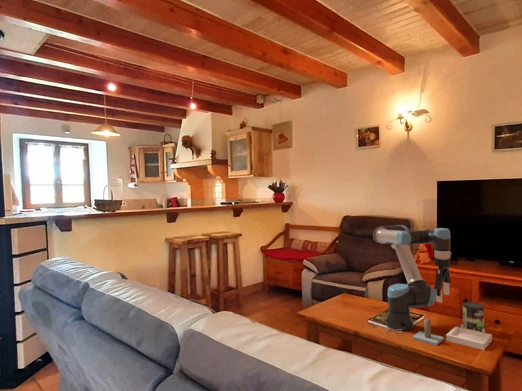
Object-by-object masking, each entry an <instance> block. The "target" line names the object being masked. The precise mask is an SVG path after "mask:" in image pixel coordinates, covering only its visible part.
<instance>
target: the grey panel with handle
mask: <svg viewBox="0 0 522 391" xmlns="http://www.w3.org/2000/svg"><path fill="white" fill-rule="evenodd" d="M423 325H424V331H421V330H419V331H418V332H417V333H415V334H414V335H412V340H413V341H417V342H421V343H425V344H428V345H433V346H435V347H438V345H439V344H440V343H441V342H443V341H444V336H441V335H439V334H438V335H437V334H433V333H432V322H431V319H430V318H424V323H423Z"/></svg>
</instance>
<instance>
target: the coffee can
mask: <svg viewBox="0 0 522 391" xmlns="http://www.w3.org/2000/svg"><path fill="white" fill-rule="evenodd" d="M462 321H463V323H462V324H463V325H464V328H466V329H470V330H474V331H479V332H482V329H485V327H486V326H485V306H484V304H482V303H479V302H474V301H473V302H472V301H465V302H462Z"/></svg>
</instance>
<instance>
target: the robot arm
mask: <svg viewBox="0 0 522 391" xmlns="http://www.w3.org/2000/svg"><path fill="white" fill-rule="evenodd" d="M372 238H373V240H374V241H375V242H376V243H379V244H386V245H389V244H390V246H391V248H392V249H393V250H395V252H396V256H397V258H398V261H399V263H400V266H401V269H402V271H403V274H404V276H405V279H406V282H407V283H406V284H405V283H395V284H392V285H390V286H388V288H387V306H388V307H387V309H388V310H387V316H386V318H385V325H386V324H387V325H388V326H389V327H391V328H394V329H402V330H405V331H411V330H413V329H414V326H415V325H414V321H413V318H412V316H411V310H410V309H411V308H419V307H420V308H421V307H424V308H425V307H430V306H432V305H434V304H435V302H438V303H443V295H445V296H450V284H451V283H452V279H451V275H450V268H449V267H451V265H452V264H451V255H452V252H451V238H452V237H451V231H450V229H449V228H444V227H436V228H434V230H433V229H431V228H424V229H422V230H421V229H420V230H410V229H409V228H408V227H407V226H405V225H403V224H401V225H400V224H397V225H382V226H378V227H376V228H375V229H374V230H373V232H372ZM428 244H430V245H433V247H434V248H433V249H434V250H433V252H434V253H433V254H434V255H433V256H434V258H433V259H434V260H433V261H434V265H435V266H437V268H438V269H435V270H436V271H435V281H434V286H432V285H430V284H428V282H427V280H425V279H423V278H422V275H421V272H420V270H419V268H418V266H417V262H416V260H415V258H414V255H413V253H412V250H411V248H410V246H412V245H428ZM442 287H443V289H442ZM389 327H388V328H389ZM391 328H390V329H391ZM394 329H393V330H394Z"/></svg>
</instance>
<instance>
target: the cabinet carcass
mask: <svg viewBox="0 0 522 391" xmlns="http://www.w3.org/2000/svg"><path fill="white" fill-rule="evenodd" d="M445 340H446V341H447V342H451V343H454V344H458V345H462V346H466V347H470V348H474V349H478V350H481V349H482V351H485V350H486V349H485V348H487V347H488V346H489V345H490V344H491V343H492V341H493V335H492V333H487V332H486V330H485V329H482V332H479V331H474V330H470V329H466V328H464V325H463V323H461V324H460V326H457V325H456V326H454V327H453V328H452V329H451V330H450V331H449V332H448V333H446V334H445ZM489 343H490V344H489Z"/></svg>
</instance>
